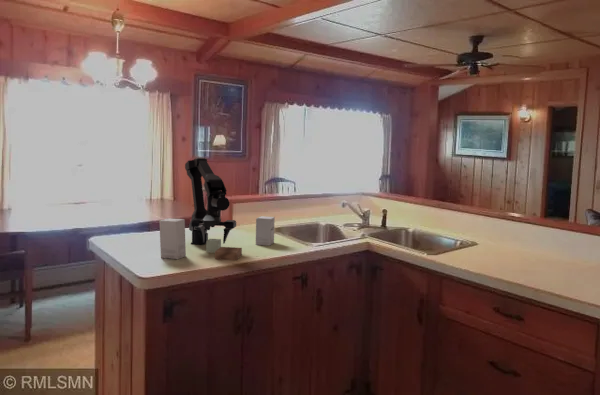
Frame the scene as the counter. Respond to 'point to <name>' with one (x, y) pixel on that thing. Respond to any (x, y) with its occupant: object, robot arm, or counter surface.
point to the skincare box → (172, 238)
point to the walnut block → (228, 253)
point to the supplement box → (265, 230)
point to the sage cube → (213, 245)
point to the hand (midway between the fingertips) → (213, 243)
